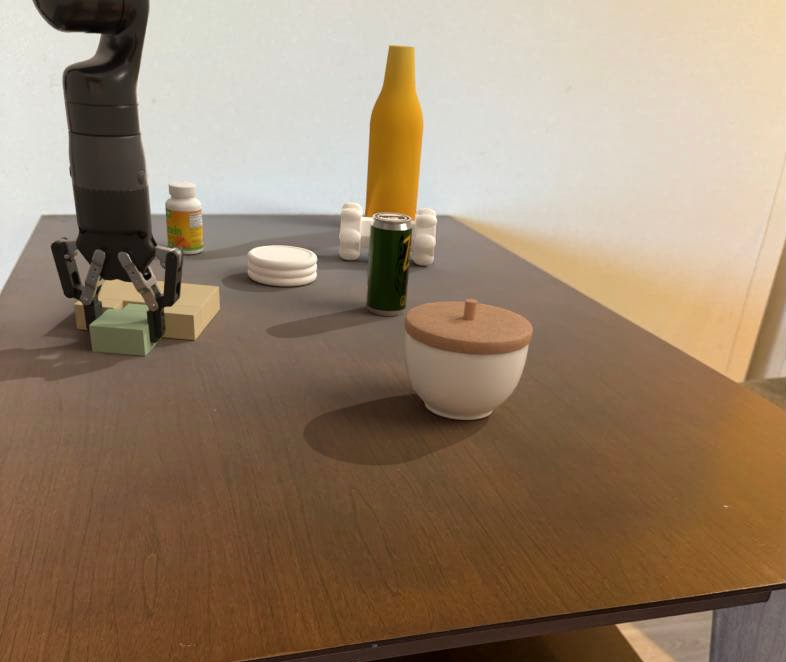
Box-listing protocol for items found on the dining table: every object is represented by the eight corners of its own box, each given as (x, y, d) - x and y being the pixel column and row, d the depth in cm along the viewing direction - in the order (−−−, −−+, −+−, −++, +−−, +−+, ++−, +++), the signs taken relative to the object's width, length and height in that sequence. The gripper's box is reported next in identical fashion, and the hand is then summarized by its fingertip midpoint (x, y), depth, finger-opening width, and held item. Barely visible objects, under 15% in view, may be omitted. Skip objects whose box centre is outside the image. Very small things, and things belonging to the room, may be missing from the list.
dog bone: (431, 257, 140) (436, 205, 136) (433, 271, 133) (438, 216, 128) (340, 250, 139) (342, 198, 135) (337, 264, 132) (339, 209, 128)
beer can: (366, 315, 112) (371, 220, 105) (365, 303, 116) (370, 211, 110) (406, 317, 112) (414, 223, 106) (404, 305, 117) (411, 213, 110)
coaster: (258, 289, 118) (258, 263, 116) (239, 269, 126) (238, 245, 124) (326, 285, 122) (327, 260, 120) (303, 267, 129) (304, 243, 127)
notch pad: (77, 329, 100) (73, 304, 98) (112, 299, 110) (110, 276, 108) (195, 340, 99) (193, 315, 98) (220, 309, 109) (219, 286, 108)
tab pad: (145, 356, 94) (143, 330, 92) (92, 351, 94) (88, 325, 93) (168, 331, 101) (166, 306, 100) (118, 327, 101) (115, 302, 100)
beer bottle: (353, 227, 154) (361, 42, 138) (391, 223, 159) (403, 44, 144) (387, 239, 148) (400, 48, 133) (425, 233, 154) (441, 49, 138)
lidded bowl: (515, 439, 82) (534, 328, 77) (388, 421, 84) (396, 311, 78) (522, 391, 93) (538, 291, 87) (408, 376, 94) (417, 276, 89)
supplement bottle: (160, 250, 132) (155, 183, 127) (186, 244, 136) (182, 179, 130) (185, 257, 129) (181, 189, 124) (210, 251, 133) (208, 185, 128)
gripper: (189, 179, 90) (198, 333, 99) (56, 168, 91) (77, 322, 100) (168, 192, 84) (180, 355, 93) (25, 180, 84) (50, 344, 93)
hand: (126, 337), depth 96 cm, fingers closed on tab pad, 6 cm apart
